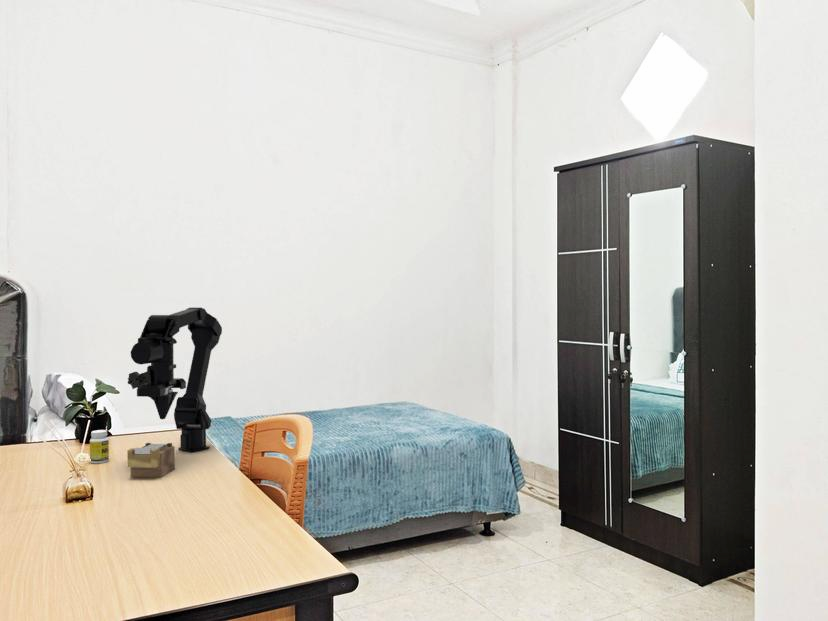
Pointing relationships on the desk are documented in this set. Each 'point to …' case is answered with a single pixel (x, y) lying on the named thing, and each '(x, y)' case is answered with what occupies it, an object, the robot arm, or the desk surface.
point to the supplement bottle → (99, 446)
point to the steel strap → (149, 448)
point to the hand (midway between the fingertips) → (162, 419)
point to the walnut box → (151, 462)
